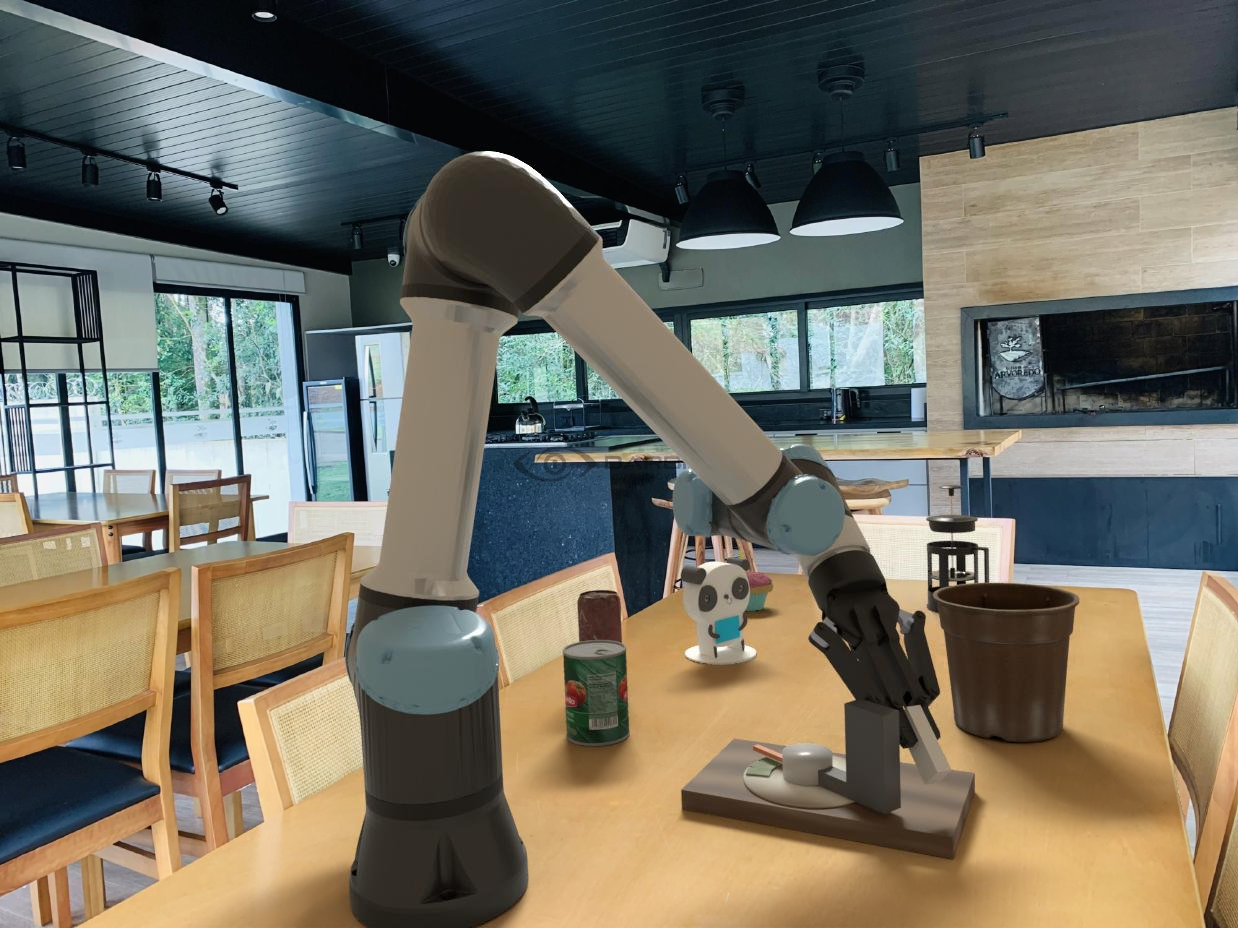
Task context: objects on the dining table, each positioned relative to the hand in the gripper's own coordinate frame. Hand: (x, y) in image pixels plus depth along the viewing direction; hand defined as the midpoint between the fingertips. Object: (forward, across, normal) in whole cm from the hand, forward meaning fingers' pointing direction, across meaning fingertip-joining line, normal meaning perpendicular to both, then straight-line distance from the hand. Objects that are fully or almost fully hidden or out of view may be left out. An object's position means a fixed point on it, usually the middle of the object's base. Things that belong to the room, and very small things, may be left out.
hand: (938, 776), depth 85 cm
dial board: (-3, +5, -12) cm, 13 cm away
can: (-34, +16, -43) cm, 58 cm away
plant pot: (-11, -25, -19) cm, 33 cm away
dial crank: (-5, +7, -10) cm, 13 cm away
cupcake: (-60, -24, -68) cm, 94 cm away
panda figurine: (-41, -6, -50) cm, 65 cm away
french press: (-48, -57, -56) cm, 93 cm away
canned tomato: (-22, +22, -31) cm, 44 cm away
